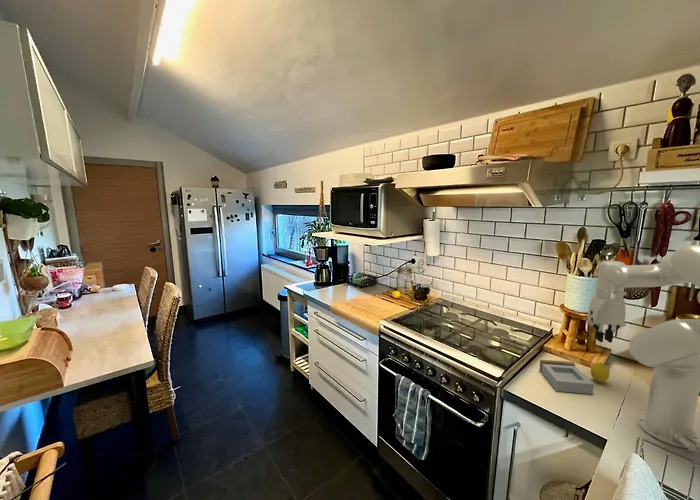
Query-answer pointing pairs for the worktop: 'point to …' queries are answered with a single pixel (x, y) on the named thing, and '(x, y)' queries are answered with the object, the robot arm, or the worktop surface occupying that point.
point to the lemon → (600, 372)
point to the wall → (555, 363)
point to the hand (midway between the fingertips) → (603, 340)
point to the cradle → (567, 378)
